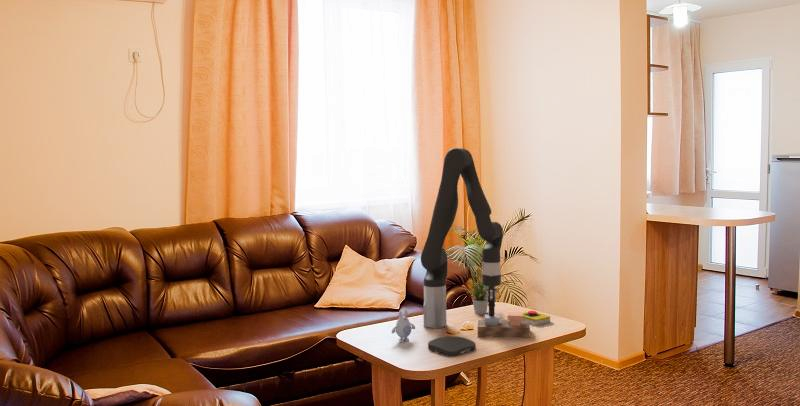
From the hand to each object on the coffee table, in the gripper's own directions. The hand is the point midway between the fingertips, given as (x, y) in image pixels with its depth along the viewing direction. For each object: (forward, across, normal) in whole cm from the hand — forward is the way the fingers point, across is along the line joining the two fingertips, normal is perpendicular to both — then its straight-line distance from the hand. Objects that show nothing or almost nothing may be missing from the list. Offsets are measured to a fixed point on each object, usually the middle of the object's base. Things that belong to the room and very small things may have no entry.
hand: (491, 315), depth 232 cm
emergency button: (+8, -18, +18) cm, 27 cm away
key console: (+7, 0, +5) cm, 8 cm away
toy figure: (+7, +13, -33) cm, 37 cm away
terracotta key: (+3, 0, +9) cm, 10 cm away
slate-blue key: (+5, 0, 0) cm, 5 cm away
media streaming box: (+8, +20, -14) cm, 26 cm away
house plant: (+7, -29, -4) cm, 30 cm away
